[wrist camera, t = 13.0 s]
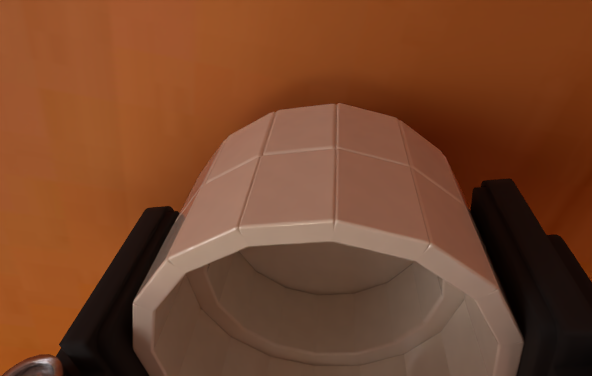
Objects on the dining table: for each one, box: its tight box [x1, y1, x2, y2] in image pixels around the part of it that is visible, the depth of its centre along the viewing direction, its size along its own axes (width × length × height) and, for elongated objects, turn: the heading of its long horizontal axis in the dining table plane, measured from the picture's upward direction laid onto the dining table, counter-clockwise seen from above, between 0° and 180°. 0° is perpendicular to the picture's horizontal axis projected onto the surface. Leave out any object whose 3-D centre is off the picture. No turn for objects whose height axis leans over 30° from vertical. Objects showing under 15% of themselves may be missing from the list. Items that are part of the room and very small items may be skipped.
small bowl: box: [133, 103, 524, 376], centre depth 9 cm, size 7×7×4 cm
